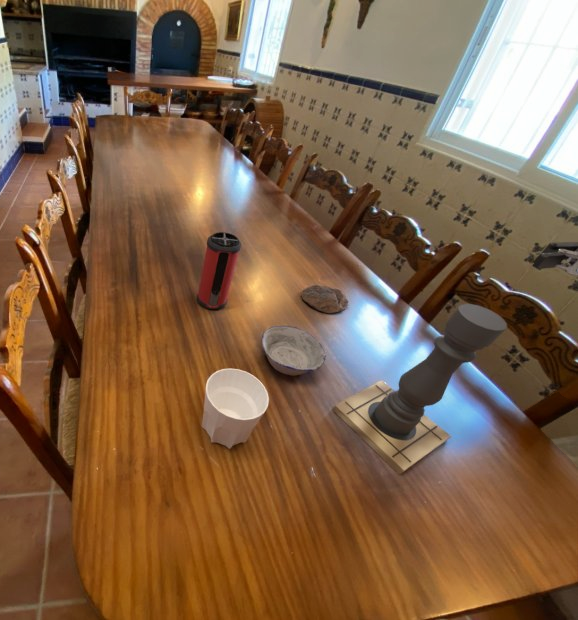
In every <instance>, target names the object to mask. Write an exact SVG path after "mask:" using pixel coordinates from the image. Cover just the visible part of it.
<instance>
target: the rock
mask: <svg viewBox="0 0 578 620" xmlns="http://www.w3.org/2000/svg"><path fill="white" fill-rule="evenodd" d="M300 295H301V298H302V300H303V301H304V302H305V303H307V304H308V305H309V306H310V307H312V308H313V309H315V310H317V311H319V312H321V313H324V314H334V313H338V312H342V311H344V310H345V309H346V308H347V306H348V305H349V299H347V298H346V295H345V294H344V293H343V291H342V290H340V289H338V288H333V287H329V286H326V285H325V286H324V285H317V284H316V285H315V284H314V285H311V286H307V287H306V288H304V289H303V290H302V292H301V294H300Z"/></svg>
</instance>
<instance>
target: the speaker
mask: <svg viewBox="0 0 578 620" xmlns="http://www.w3.org/2000/svg"><path fill="white" fill-rule="evenodd" d="M241 249H242V242H241V241H240V240H239V238H238V237H237V236H236V235H235V234H232V233H230V232H226V231H225V232H223V231H219V232H214V233H213V234H211V235H210V236H208V238H207V239H206V249H205V254H204V261H203V266H202V270H201V277H200V281H199V288H198V293H197V295H196V301H197V303H198V304H199V305H200V306H202V307H203V308H205V309H210V310H220V309H223V308H224V307H225V306H227V303H228V297H229V292H230V289H231V284H232V282H233V277H234V274H235V269H236V265H237V261H238V257H239V254H240V251H241Z"/></svg>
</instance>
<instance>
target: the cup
mask: <svg viewBox="0 0 578 620" xmlns="http://www.w3.org/2000/svg"><path fill="white" fill-rule="evenodd" d="M204 391H205V392H204V401H203V403H204V404H203V413H202V418H201V426H200V427H201V428H202V429H204V430H205V432H206V433H207V435H208V436H209V438H210V443H211V444H212V443H217V444H220V445H223V446H225V447H226V448H227V449H229V450H231V449H232V448H233V446H236V445H238V444H240V443H247V441H248V440H249V437H250V436H251V435H252V433H253V432H254V429H255V428H256V426H257V425H258V423H259V422H260V420H261V419H262V417H263V415H264V414H265V412H266V411H267V409H268V407H269V402H270V398H269V392H268V390H267V388H266V387H265V385H264V384H263V383H262V382H261V380H260V379H259V378H257V377H256V376H255V375H253V374H252V373H250V372H248V371H245V370H242V369H239V368H231V367H230V368H222V369H219V370H216V371H215V372H213V373H212V374H210V376H209V377H208V378H207V381H206V384H205V390H204Z"/></svg>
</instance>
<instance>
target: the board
mask: <svg viewBox="0 0 578 620" xmlns="http://www.w3.org/2000/svg"><path fill="white" fill-rule="evenodd" d="M393 391H395V390H394V389H393V388H392V387H391V386H389V385H388V384H387V383H386V382H385V381H384V380H382V379H380V380H379V381H377V382H375V383H373V384H372V385H371V384H370V385H369V386H368V387H366V388H364V389H362V390H360V391H358V392H357V393H354V394H353V395H351V396H349V397H346V398H345V399H343V400H342V401H340V402H338V403H335V404H334V406H333V408H332V411H333V412H334V413H335V414H336V415H337V416H338V417H339V418H340V419H341V420H342V421H343V422H344V423H345V424H346V425H347V426H348V427H349V428H351V429H352V431H354V432H355V434H357V435H358V436H359V437H360V438H361V439H362V440H363V441H364V442H365V443H366V444H367V445H368V446H369V447H370V448H371V449H373V450H374V452H375V453H376V454H377V455H378V456H380V457H381V459H382V460H384V462H386V463H387V465H388V466H389V467H391V468H392V469H393V470H394V471H395V472H397V474H398V475H402V474H403V473H404V472H406V471H407V470H409V469H410V468H411V467H413V466H414V465H416V464H417V463H418V462H420V461H421V460H422V459H424V458H425V457H426V456H428V455H429V454H430V453H432V452H434V451H435V450H436V449H438V448H439V447H440V446H441V445H443V444H444V443H445V442H447V441H448V440H449V439H450V438H451V437H452V436H451V434H449V433H447V432H446V431H445V430H444V429H443V428H442V427H441V426H439V425H438V424H436V422H434V420H432V419H430V418H429V417H428V416H426V414H424V415H423V416H422V417H421V420H420V422H419V423H418V424H417V425H416V426H415V427H414V428H413V429H412V430H411V431H410V432H409V433H408V434H406V435H399V434H395V433H392V432H390V431H388V430H387V429H385V428H384V427H383V426H382V425H381V424H379V422H378V421H377V419H376V418H375V413H374V412H375V409H376V407H377V406H378V405H379V403H380V402H381V401H382V400H383V398H384V397H386V396H388V395H389V393H391V392H393Z"/></svg>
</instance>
